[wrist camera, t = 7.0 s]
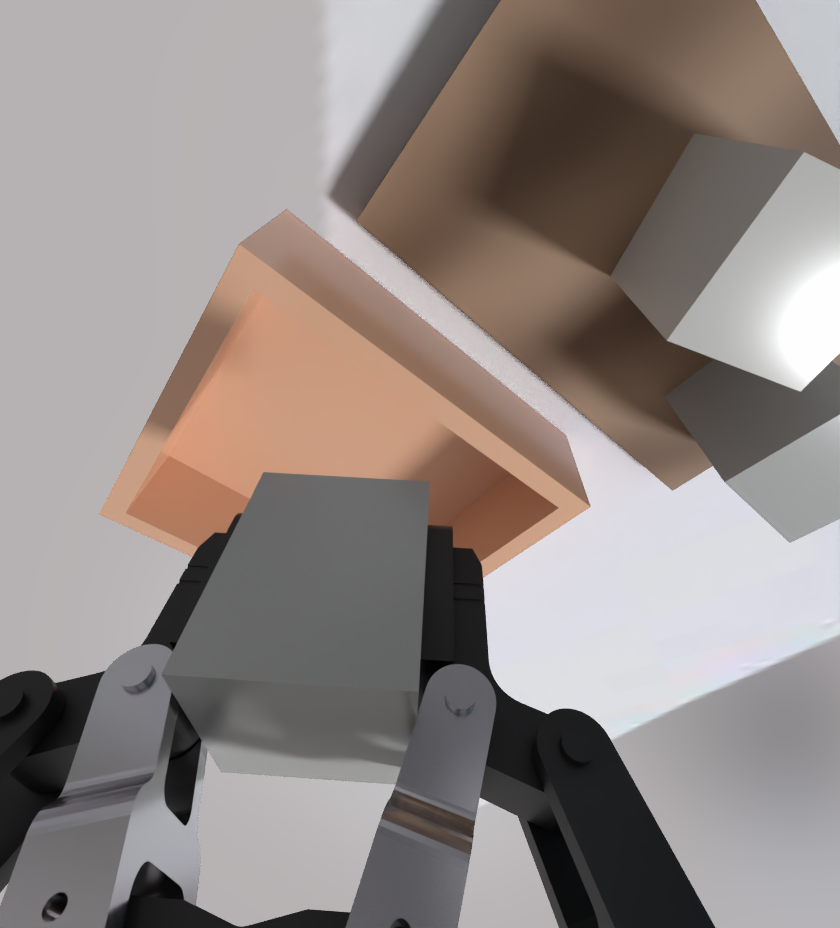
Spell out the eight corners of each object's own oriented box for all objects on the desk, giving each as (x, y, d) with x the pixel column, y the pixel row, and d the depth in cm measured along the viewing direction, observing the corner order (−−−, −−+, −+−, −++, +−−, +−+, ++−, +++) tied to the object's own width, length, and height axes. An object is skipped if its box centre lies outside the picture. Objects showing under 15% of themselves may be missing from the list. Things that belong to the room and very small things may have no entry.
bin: (154, 446, 22) (99, 514, 18) (286, 209, 15) (239, 244, 12) (390, 572, 27) (381, 644, 24) (566, 435, 20) (590, 506, 17)
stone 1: (263, 471, 11) (161, 674, 7) (429, 481, 11) (418, 691, 7) (287, 577, 14) (220, 772, 10) (423, 586, 14) (413, 785, 10)
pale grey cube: (610, 276, 15) (666, 340, 11) (694, 133, 13) (803, 151, 9) (713, 317, 16) (800, 391, 12) (812, 189, 13) (962, 230, 9)
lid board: (361, 213, 15) (356, 221, 14) (618, -180, 10) (635, -207, 9) (662, 473, 22) (672, 490, 21) (915, 310, 16) (943, 324, 16)
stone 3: (664, 396, 18) (725, 481, 14) (770, 317, 16) (877, 392, 12) (720, 450, 19) (789, 542, 15) (824, 385, 17) (935, 472, 13)
